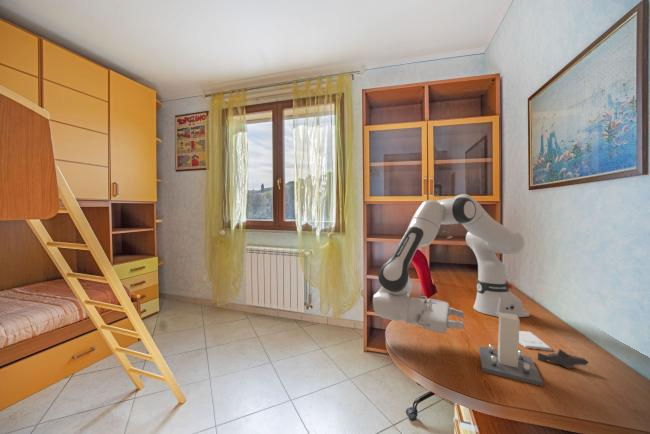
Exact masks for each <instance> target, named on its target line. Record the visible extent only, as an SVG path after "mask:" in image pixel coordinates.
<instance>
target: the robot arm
mask: <svg viewBox="0 0 650 434" xmlns="http://www.w3.org/2000/svg"><path fill="white" fill-rule="evenodd" d="M456 224H457V225H458V224H461V225H462V226H463V227H464V228H465V230H466V231H467V232H466V234H465V242H466V245H467V246H468V247H469V248H470V249H471V250H472V252H473V253H474V255H475V258H476V262H477V273H478V274H477V275H478V277H477V279H476V297H475V302H474V305H473V307H472V308H473V309H474V310H475V311H477V312H479V313H480V314H484V315H488V316H492V317H496V318H499V312H501V313H507V314H514V315H517V317H518V318H524V317H525V318H526V317H530V313H529V312H528V311H527V310H526V309H524V305H523V302H522V300H521V298H519V297H518V296H516V295H515V294H514V293H512V292H511V291H510V289H511V290H514V289H515V285H514V284H512V283H508V282H506V281H507V279H506V277H507V275H506V274H507V268H506V265H505V263H504V262H503V261H501V260H500V259H499V258H498V256H497V254H502V255H512V254H513V255H514V254H515V255H516V254H517V255H518V254H519V253H521V251H522V250H523V249H524V248H525V239H524V237H523V235H522V234H521V233H520V232H518V231H514V230H512V229H510V228H509V227H506V226H505V225H503V224H501V223H500V222H498V221H497V220H495V219H494V218H493V217H492V216H490V214H489V213H488V212H487V211H486V210H485V209H484V207H483V206H482V205H481V204H480V203H479V202H478V201H477V200H476V199H475V198H473V197H472V196H471V195H469V194H467V193H462V194H458V195H455V196H454V197H448V198H444V199H438V200H433V199H432V200H431V199H428V200H427V199H426V200H425V201H423V202H422V203H421V204H420V205H419V206H418V208H417V209H416V211H415V212H414V214H413V215H412V217H411V220H410V222H409V224H408V227H407V229H406V231H405V233H404V234H403V236H402V238H401V240H400V241H399V244H398V245H397V246H396V248H395V250H394V252H393V254H392V256H390V257H389V259H388V260H387V261H386V262H384V263H383V264H382V266H381V267H380V268H379V271H378V275H377V277H378V282H379V284H380V285H381V287H380V288H379V290H377V292H376V293H374V294H373V296H372V301H371V302H372V303H371V304H372V309H373V311H374V313H375V314H376V316H377V317H380V318H382V319H386V320H390V321H395V322H400V321H401V322H405V323H406V324H410V325H416V326H420V327H422V328H423V329H425V330H428V331H431V332H436V333H439V334H447V330H448V329H465V322H464V321H462V320H451V319H449V316H456V317H458V318H462V319H463V318H464V317H465V316H464V315H465V314H464V312H465V311H463V310H458V309H456V308H453V307H450V302H447V301H445V300H444V301H443V300H440V299H434V298H428V297H427V296H423V295H421V296H419V297H412V296H411V297H410V295H411V293H412V289H413V283H412V280H411V278H410V275H409V266H410V264H411V262H412V259H413V258H414V256H415V254H416V252H417V250H418V249H419V247H427V246H429V245H431V244H432V243H433V241H434V240H435V239H436V237H437V235H438V233H439V230H440V228H441V225H448V226H449V225H456ZM496 253H497V254H496Z"/></svg>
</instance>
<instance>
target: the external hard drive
mask: <svg viewBox="0 0 650 434" xmlns="http://www.w3.org/2000/svg"><path fill="white" fill-rule="evenodd" d="M519 345H521V346H522V345H523V346H524V347H525V348H524V347H523V346H522V347H523V348H524V349H528V348H533V349H532V350H540V351H548V352H552V351H553V350H552V347H551V346H549V345H548V344H547V343H545V342H544V341H543V340H542V339H540V338H539V337H538V336H537V335H535V334H534V333H533V332H531V331H528V330H527V331H526V330H525V331H524V330H519Z"/></svg>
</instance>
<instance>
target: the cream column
mask: <svg viewBox="0 0 650 434" xmlns="http://www.w3.org/2000/svg"><path fill="white" fill-rule="evenodd" d="M520 323H521V322H520V317H517V315H514V314H507V313H501V312H499V317H498V333H497V335H498V336H497V350H498V360H499V363H500V364H504V365H508V366H512V367H517V368H518V350H520V349H519V347H520V343H519V331H520Z"/></svg>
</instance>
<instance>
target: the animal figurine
mask: <svg viewBox="0 0 650 434" xmlns="http://www.w3.org/2000/svg"><path fill="white" fill-rule="evenodd" d="M540 360H542V362H547V361H549V363H551V364H556V365H560V366H563V367H564V368H566V369H567V370H568V371H569V370H571V369H572V368H573V367H580V366H585V367H587V364H589V361H588V360H587V359H585V358H584V357H579V356H577V355H576V356H575V355H572V354H568V353H567V352H566V351H563V350H562V349H561V348H559V349H558V350H557V353H556V352H555V353H554V352H553V353H548V354H544V353H541V352H539V351H538V352H537V361H540Z"/></svg>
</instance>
